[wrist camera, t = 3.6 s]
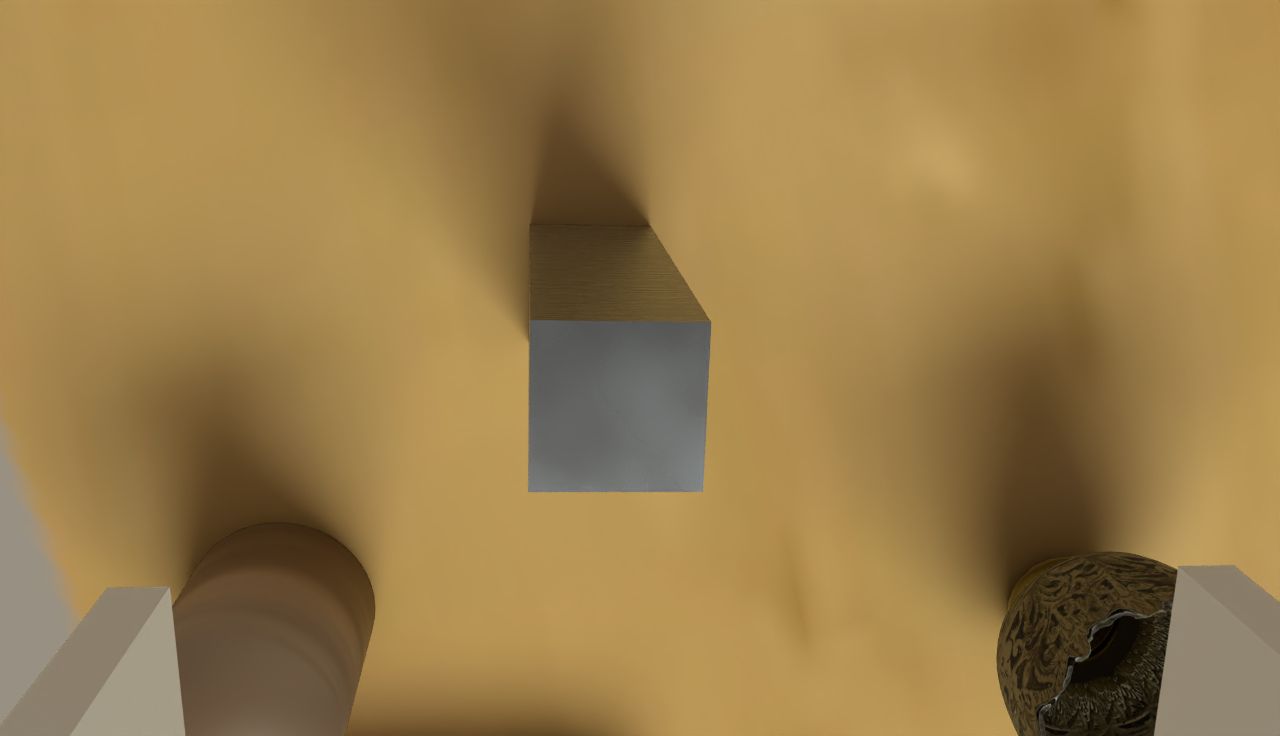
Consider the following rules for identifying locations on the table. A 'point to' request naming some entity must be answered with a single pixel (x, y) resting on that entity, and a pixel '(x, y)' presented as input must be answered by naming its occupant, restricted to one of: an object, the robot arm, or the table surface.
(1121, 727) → the ornate candle holder
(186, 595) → the brown short cylinder
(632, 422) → the square bit
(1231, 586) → the robot arm
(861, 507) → the table surface
